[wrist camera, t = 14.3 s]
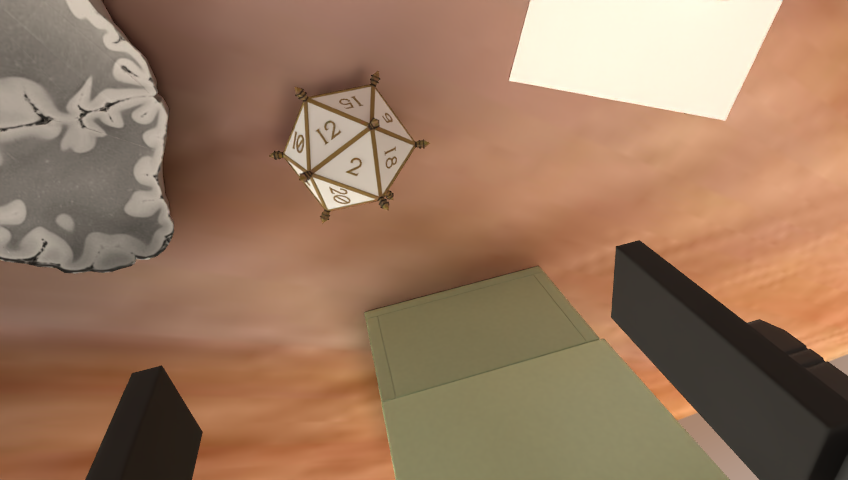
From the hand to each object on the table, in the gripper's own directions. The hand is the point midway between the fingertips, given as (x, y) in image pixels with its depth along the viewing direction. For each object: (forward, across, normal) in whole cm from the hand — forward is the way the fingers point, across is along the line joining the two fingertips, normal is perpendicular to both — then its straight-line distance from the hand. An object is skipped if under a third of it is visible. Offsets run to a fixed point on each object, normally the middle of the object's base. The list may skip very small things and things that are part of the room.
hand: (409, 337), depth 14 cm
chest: (+22, +6, -24) cm, 33 cm away
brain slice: (+22, -18, +5) cm, 29 cm away
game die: (+22, 0, 0) cm, 22 cm away
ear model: (+22, +25, +7) cm, 34 cm away
